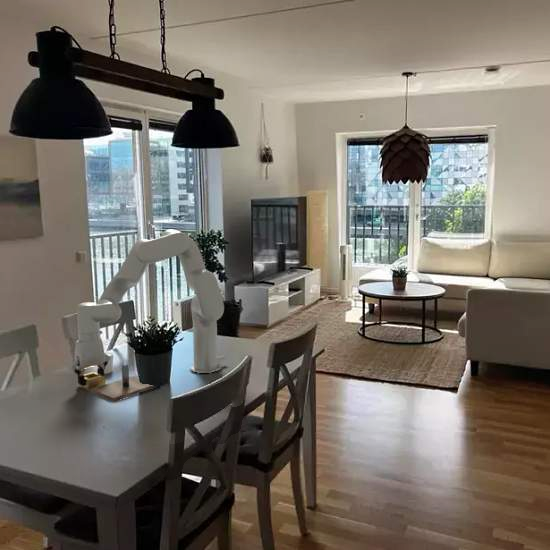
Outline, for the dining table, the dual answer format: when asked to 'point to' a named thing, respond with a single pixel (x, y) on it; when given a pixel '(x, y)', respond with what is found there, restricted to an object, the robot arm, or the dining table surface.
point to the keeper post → (125, 375)
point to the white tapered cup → (110, 364)
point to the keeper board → (120, 389)
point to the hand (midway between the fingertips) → (91, 381)
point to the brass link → (93, 380)
